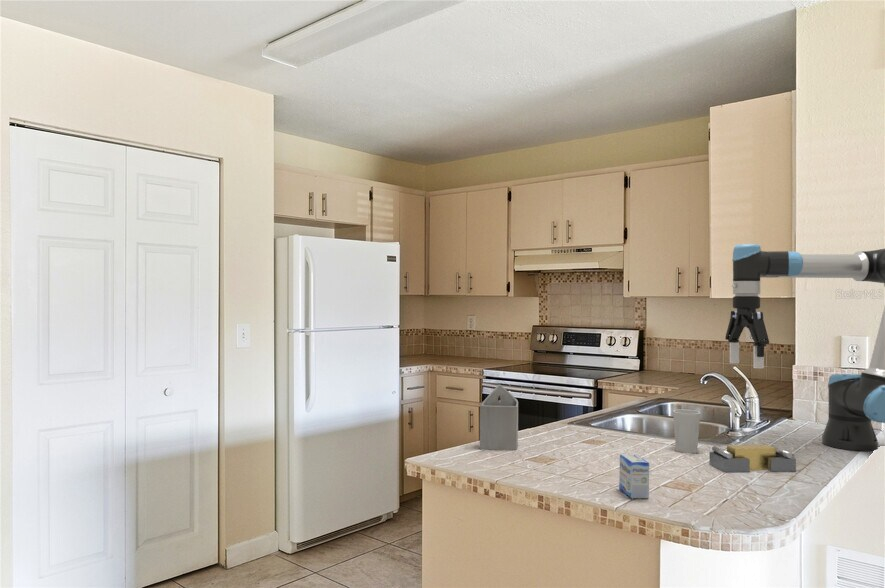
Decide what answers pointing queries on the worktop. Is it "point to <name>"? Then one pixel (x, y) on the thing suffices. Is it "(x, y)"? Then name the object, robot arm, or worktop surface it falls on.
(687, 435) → the cup
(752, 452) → the gold rectangular block
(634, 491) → the medicine box
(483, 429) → the planter
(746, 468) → the chain end
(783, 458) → the bracket
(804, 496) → the worktop surface
